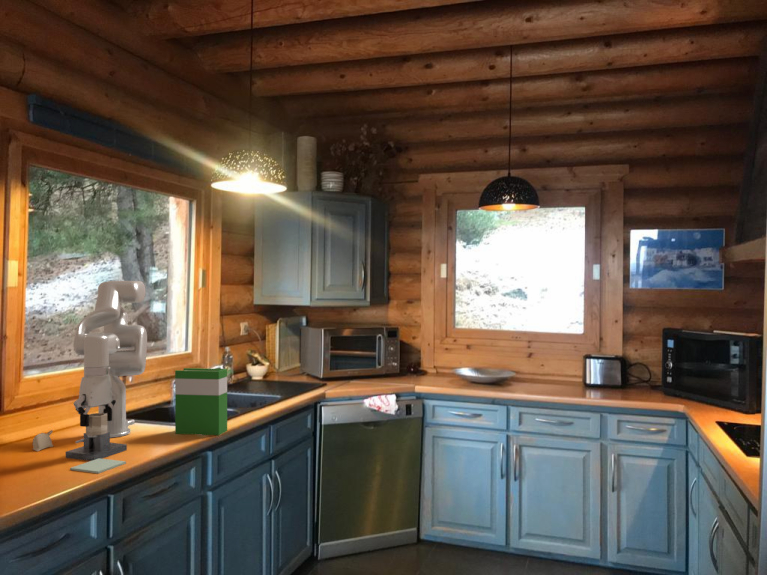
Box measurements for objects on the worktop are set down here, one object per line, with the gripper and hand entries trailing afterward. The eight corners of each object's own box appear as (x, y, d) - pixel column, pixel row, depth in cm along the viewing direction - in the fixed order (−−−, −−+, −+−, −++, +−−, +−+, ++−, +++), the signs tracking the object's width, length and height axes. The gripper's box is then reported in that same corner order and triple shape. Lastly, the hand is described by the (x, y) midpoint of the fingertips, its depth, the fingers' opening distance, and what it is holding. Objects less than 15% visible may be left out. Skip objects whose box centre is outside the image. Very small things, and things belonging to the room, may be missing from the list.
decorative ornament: (28, 450, 204) (28, 435, 204) (49, 444, 212) (49, 429, 212) (37, 451, 202) (37, 436, 202) (57, 445, 210) (57, 430, 210)
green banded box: (175, 433, 227) (175, 370, 227) (184, 429, 234) (184, 368, 234) (218, 435, 224) (218, 371, 224) (227, 430, 231) (227, 368, 231)
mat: (98, 460, 192) (98, 458, 192) (125, 463, 188) (125, 461, 188) (70, 469, 181) (70, 467, 181) (98, 473, 177) (98, 471, 177)
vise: (98, 447, 208) (98, 412, 208) (126, 450, 203) (126, 414, 204) (64, 457, 195) (64, 420, 195) (93, 461, 190) (93, 423, 190)
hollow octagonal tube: (96, 430, 203) (96, 412, 203) (111, 431, 201) (111, 413, 201) (81, 434, 197) (81, 416, 197) (96, 435, 195) (96, 417, 195)
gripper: (107, 368, 208) (107, 418, 208) (66, 374, 192) (65, 428, 192) (124, 369, 206) (124, 419, 205) (84, 375, 189) (83, 429, 189)
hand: (96, 423), depth 198 cm, fingers open, 9 cm apart
